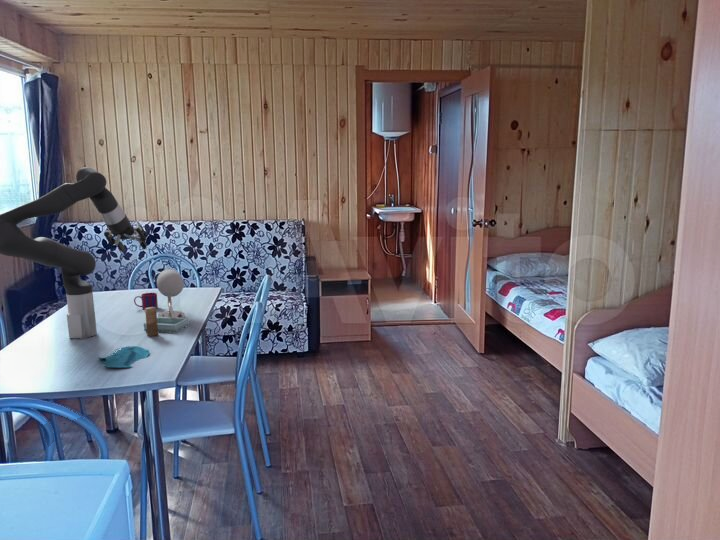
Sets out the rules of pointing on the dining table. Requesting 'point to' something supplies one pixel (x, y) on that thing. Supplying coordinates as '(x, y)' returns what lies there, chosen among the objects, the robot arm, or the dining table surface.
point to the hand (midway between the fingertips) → (134, 249)
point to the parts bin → (170, 324)
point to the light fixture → (170, 290)
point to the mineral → (125, 357)
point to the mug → (148, 300)
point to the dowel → (151, 321)
